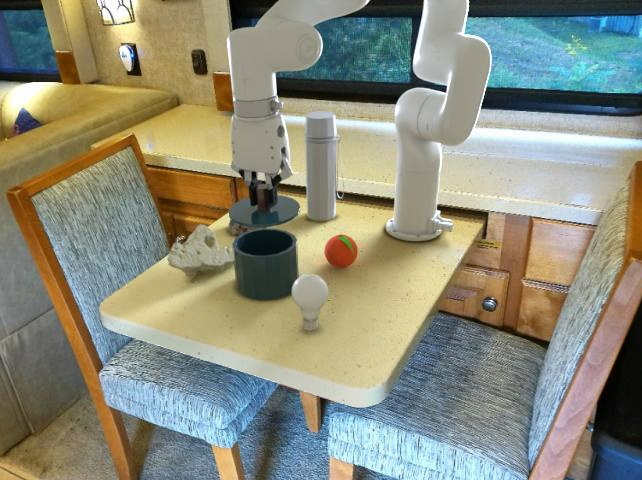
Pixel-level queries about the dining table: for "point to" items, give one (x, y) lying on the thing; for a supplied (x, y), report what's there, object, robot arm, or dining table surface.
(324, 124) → the water bottle
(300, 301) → the lightbulb
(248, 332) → the dining table surface
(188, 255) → the white coral rock
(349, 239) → the clementine
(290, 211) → the jar lid
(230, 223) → the mineral rock
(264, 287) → the jar
